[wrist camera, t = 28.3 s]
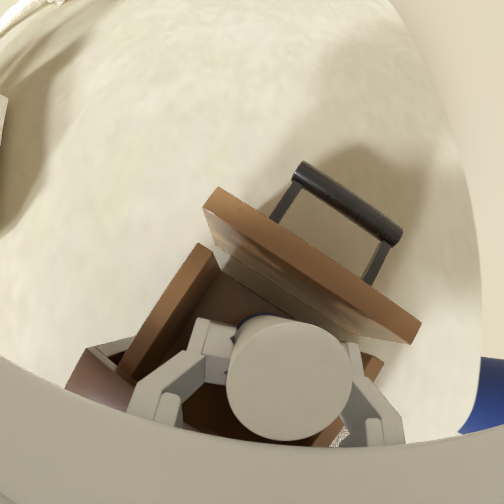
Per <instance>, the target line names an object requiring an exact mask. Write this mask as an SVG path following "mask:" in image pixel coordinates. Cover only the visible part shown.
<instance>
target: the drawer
mask: <svg viewBox="0 0 504 504" xmlns="http://www.w3.org/2000/svg"><path fill="white" fill-rule="evenodd" d="M291 181H292V184H291V185H290V187H289V188H288V190H287V191H286V193H285V194H284V196H283V197H282V199H281V200H280V202H279V203H278V204H277V206H276V207H275V209H274V210H273V212H272V213H271V215H270V216H269V218H268V217H266V216H264V215H263V214H261V213H260V212H258V211H257V210H255V209H253V208H252V207H250V206H249V205H247V204H246V203H244V202H242V201H241V200H239V199H238V198H236V197H234V196H233V195H231V194H230V193H228V192H226V191H225V190H223V189H221V188H220V187H217V188H216V189H215V191H214V192H213V193H212V195H211V196H210V197H209V199H208V200H207V201H206V203H205V204H204V206H203V207H202V208H203V211H204V214H205V217H206V220H207V222H208V225H209V228H210V231H211V234H212V237H213V239H214V242H215V245H216V246H218V247H219V248H221V249H222V250H224V251H225V252H227V253H228V254H230V255H231V256H233V257H234V258H236V259H238V260H239V261H241V262H242V263H244V264H245V265H247V266H248V267H250V268H251V269H253V270H254V271H256V272H257V273H259V274H260V275H262V276H263V277H265V278H266V279H268V280H270V281H271V282H273V283H274V284H276V285H277V286H279V287H280V288H282V289H283V290H285V291H286V292H288V293H290V294H291V295H293V296H294V297H296V298H297V299H299V300H300V301H302V302H303V303H305V304H307V305H308V306H310V307H311V308H313V309H314V310H316V311H317V312H319V313H321V314H322V315H324V316H325V317H327V318H328V319H330V320H331V321H333V322H335V323H336V324H338V325H339V326H341V327H342V328H344V329H346V330H347V331H349V332H350V333H352V334H356V335H361V336H366V337H371V338H376V339H381V340H387V341H392V342H398V343H403V344H409V345H411V344H412V342H413V340H414V338H415V336H416V334H417V332H418V330H419V328H420V326H421V324H422V323H421V322H420V321H419V320H417V319H416V318H415V317H413V316H412V315H410V314H409V313H408V312H406V311H405V310H403V309H402V308H401V307H399V306H398V305H396V304H395V303H394V302H392V301H391V300H389V299H388V298H387V297H385V296H384V295H382V294H381V293H380V292H378V291H377V290H375V289H374V288H372V287H371V286H372V284H373V282H374V280H375V278H376V276H377V274H378V272H379V270H380V268H381V266H382V264H383V262H384V260H385V258H386V256H387V254H388V252H389V250H390V248H393V247H394V246H395V245H396V244H397V243H398V242H399V240H400V239H401V237H402V234H403V229H402V228H401V227H400V226H398V225H397V224H396V223H395V222H393V221H392V220H391V219H389V218H388V217H387V216H385V215H384V214H382V213H381V212H380V211H378V210H377V209H376V208H374V207H373V206H371V205H370V204H369V203H367V202H366V201H364V200H363V199H362V198H360V197H359V196H357V195H356V194H354V193H353V192H351V191H350V190H349V189H347V188H346V187H344V186H343V185H341V184H340V183H338V182H337V181H335V180H334V179H332V178H331V177H329V176H327V175H326V174H324V173H323V172H321V171H320V170H318V169H317V168H315V167H313V166H312V165H310V164H309V163H307V162H305V161H302V162H301V163H300V165H299V166H298V167H297V169H296V171H295V172H294V174H293V176H292V178H291ZM302 188H303V189H304V190H306V191H307V192H309V193H310V194H312V195H313V196H315V197H317V198H318V199H320V200H321V201H323V202H324V203H326V204H327V205H329V206H330V207H332V208H333V209H335V210H336V211H338V212H339V213H341V214H342V215H343V216H345V217H346V218H348V219H349V220H351V221H352V222H354V223H355V224H356V225H358V226H359V227H361V228H362V229H364V230H365V231H366V232H368V233H369V234H371V235H372V236H373V237H375V238H376V239H378V240H379V241H380V242H379V244H378V246H377V248H376V250H375V252H374V254H373V256H372V258H371V260H370V262H369V264H368V265H367V267H366V269H365V271H364V273H363V275H362V277H361V279H359V278H358V277H357V276H355V275H354V274H352V273H351V272H349V271H348V270H346V269H345V268H343V267H342V266H340V265H339V264H337V263H336V262H335V261H333V260H332V259H330V258H329V257H327V256H326V255H324V254H323V253H321V252H320V251H318V250H317V249H315V248H314V247H312V246H311V245H309V244H308V243H306V242H305V241H303V240H302V239H300V238H298V237H297V236H295V235H294V234H292V233H291V232H289V231H288V230H286V229H285V228H283V227H282V226H280V225H279V223H280V221H281V220H282V218H283V217H284V215H285V214H286V212H287V211H288V209H289V208H290V206H291V205H292V203H293V202H294V200H295V198H296V197H297V195H298V194H299V192H300V191H301V189H302ZM256 313H272V314H276V315H279V316H281V317H283V318H285V319H289V320H294V321H298V320H296V319H294V318H293V317H291V316H290V315H288V314H287V313H285V312H283V311H282V310H280V309H279V308H277V307H276V306H274V305H273V304H271V303H269V302H268V301H266V300H265V299H263V298H262V297H260V296H259V295H257V294H256V293H254V292H253V291H251V290H250V289H248V288H246V287H245V286H243V285H242V284H240V283H239V282H237V281H236V280H234V279H233V278H231V277H230V276H228V275H227V274H225V273H224V272H222V271H221V269H220V267H219V265H218V263H217V261H216V259H215V256H214V254H213V252H212V251H210V250H209V249H207V248H206V247H204V246H203V245H201V244H200V243H197V244H196V246H195V247H194V249H193V250H192V252H191V253H190V255H189V256H188V257H187V259H186V260H185V262H184V263H183V265H182V266H181V268H180V269H179V271H178V272H177V274H176V275H175V277H174V278H173V279H172V281H171V282H170V284H169V285H168V287H167V288H166V290H165V291H164V293H163V294H162V296H161V298H160V299H159V301H158V302H157V304H156V305H155V307H154V308H153V310H152V311H151V313H150V314H149V316H148V317H147V319H146V321H145V322H144V324H143V325H142V327H141V328H140V330H139V332H138V333H137V335H136V336H135V338H134V340H133V341H132V343H131V344H130V346H129V348H128V349H127V351H126V352H125V354H124V356H123V357H122V359H121V361H120V362H119V364H118V365H117V366H118V367H119V368H120V369H122V370H123V371H124V372H125V373H127V374H128V375H129V376H130V377H132V378H133V379H134V380H136V381H137V382H139V381H140V380H142V379H143V378H145V377H146V376H147V375H149V374H150V373H152V372H153V371H154V370H156V369H157V368H159V367H160V366H161V365H163V364H164V363H166V362H167V361H168V360H170V359H171V358H173V357H174V356H175V355H177V354H178V353H179V352H181V351H182V350H184V351H186V350H187V347H188V344H189V341H190V338H191V334H192V331H193V328H194V325H195V322H196V320H197V318H198V317H199V318H204V319H208V320H213V321H218V322H222V323H227V324H231V325H236V326H237V325H238V324H239V323H240V322H241V321H242V320H243V319H245V318H246V317H248V316H250V315H252V314H256ZM298 322H299V321H298ZM360 354H361V359H362V365H363V370H364V376H365V377H368V378H369V379H370V380H371V381H372V383H373V382H374V380H375V378H376V377H377V375H378V374H379V372H380V370H381V368H382V367H383V365H384V362H383V361H381V360H380V359H378V358H376V357H375V356H373V355H369V354H366V353H363V352H360ZM182 413H183V414H185V415H186V416H188V417H189V418H191V419H193V420H194V421H196V422H198V423H199V424H201V425H203V426H204V427H206V428H208V429H209V430H211V431H213V432H215V433H216V434H218V435H220V436H222V437H225V438H231V439H237V440H244V441H251V442H259V443H268V444H278V445H290V446H306V447H328V446H329V445H330V444H331V442H332V441H333V440H334V438H335V437H336V436H337V434H338V433H339V432H340V430H341V429H342V428H343V426H344V423H343V421H342V420H341V418H340V416H338V417H337V418H336V419H335V420H334V421H333V422H332V423H331V424H330V425H329V426H327V427H326V428H325V429H323V430H322V431H320V432H318V433H316V434H314V435H312V436H309V437H306V438H303V439H299V440H293V441H278V440H272V439H268V438H265V437H262V436H260V435H257V434H255V433H254V432H252V431H250V430H249V429H248V428H246V427H245V426H244V425H243V424H242V423H241V422H240V421H239V420H238V419H237V417H236V416H235V414H234V413H233V411H232V409H231V407H230V404H229V401H228V397H227V392H226V386H225V385H219V384H213V383H207V382H204V383H203V384H202V385H201V386H200V387H199V388H198V389H197V390H196V391H195V392H194V393H193V394H192V395H191V396H190V397H189V398H188V399H187V400H185V401H184V402H183V403H182Z"/></svg>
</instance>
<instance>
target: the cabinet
mask: <svg viewBox="0 0 504 504" xmlns="http://www.w3.org/2000/svg"><path fill="white" fill-rule="evenodd" d="M134 338H135V336H134V337H130V338H126V339H122V340H118V341H114V342H110V343H106V344H101V345H97V346H94V347H89V348H86V349H85V351H84V352H83V354H82V356H81V358H80V360H79V362H78V363H77V365H76V367H75V369H74V371H73V373H72V375H71V377H70V379H69V380H68V382H67V384H66V386H65V388H64V389H66V390H68V391H70V392H73V393H75V394H77V395H80V396H82V397H85V398H87V399H90V400H92V401H95V402H97V403H100V404H102V405H105V406H108V407H111V408H113V409H116V410H119V411H122V412H125V413H126V410H127V408H128V405H129V402H130V400H131V397H132V395H133V392H134V389H135V387H136V384H137V381H136V380H134V379H133V378H132V377H130V376H129V375H128V374H127V373H125V372H124V371H123V370H122V369H120V368H119V367H118V366H117V365H118V364H119V362H120V361H121V359H122V357H123V356H124V354H125V352H126V351H127V349H128V348H129V346H130V344H131V343H132V341H133V340H134ZM182 415H183V429H185V430H190V431H194V432H199V433H204V434H209V435H214V436H219V437H222V436H220V435H218V434H216V433H215V432H213V431H211V430H209V429H208V428H206V427H204V426H203V425H201V424H199V423H198V422H196V421H194V420H193V419H191V418H189V417H188V416H186V415H185V414H183V413H182Z"/></svg>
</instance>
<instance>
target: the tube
mask: <svg viewBox="0 0 504 504" xmlns="http://www.w3.org/2000/svg"><path fill="white" fill-rule="evenodd" d="M351 387H352V367H351V363H350V359H349V357H348V354H347V352H346V351H345V349H344V347H343V346H342V345H341V343H340V342H339V341H338V340H337V339H336V338H335V337H334V336H333V335H332V334H330V333H329V332H327V331H326V330H324V329H322V328H320V327H317V326H315V325H312V324H307V323H303V322H298V321H294V320H289V319H285V318H283V317H281V316H279V315H276V314H272V313H256V314H252V315H250V316H248V317H246V318H245V319H243V320H242V321H241V322H240V323H239V324H238V325H237V330H236V335H235V341H234V346H233V350H232V353H231V357H230V362H229V367H228V373H227V380H226V392H227V397H228V401H229V404H230V407H231V409H232V411H233V413H234V414H235V416H236V417H237V419H238V420H239V421H240V422H241V423H242V424H243V425H244V426H245V427H246V428H248V429H249V430H250V431H252V432H254V433H255V434H257V435H260V436H262V437H265V438H268V439H272V440H278V441H293V440H299V439H303V438H306V437H309V436H312V435H314V434H316V433H318V432H320V431H322V430H323V429H325V428H326V427H327V426H329V425H330V424H331V423H332V422H333V421H334V420H335V419H336V418H337V417H338V416H339V414H340V413H341V412H342V410H343V408H344V407H345V405H346V403H347V401H348V399H349V395H350V392H351Z"/></svg>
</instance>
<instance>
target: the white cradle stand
mask: <svg viewBox="0 0 504 504" xmlns="http://www.w3.org/2000/svg"><path fill="white" fill-rule="evenodd" d="M7 103H8V98H7V97H5V96H3V95H1V94H0V144H1V137H2V130H3V124H4V119H5V113H6V108H7Z"/></svg>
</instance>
